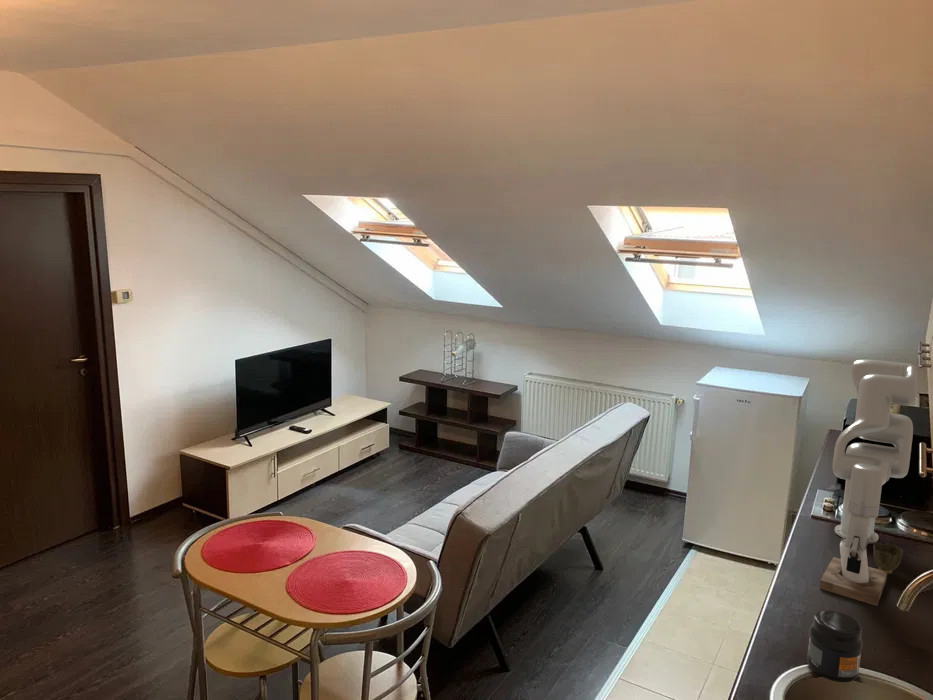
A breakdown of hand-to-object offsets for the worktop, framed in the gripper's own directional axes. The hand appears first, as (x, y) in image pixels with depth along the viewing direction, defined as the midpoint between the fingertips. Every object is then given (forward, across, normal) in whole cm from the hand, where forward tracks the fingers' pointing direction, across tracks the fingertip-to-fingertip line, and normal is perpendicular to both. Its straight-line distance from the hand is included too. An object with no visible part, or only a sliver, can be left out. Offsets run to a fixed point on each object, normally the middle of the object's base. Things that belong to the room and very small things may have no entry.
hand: (855, 565), depth 189 cm
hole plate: (+6, 0, 0) cm, 6 cm away
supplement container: (+6, +47, +3) cm, 47 cm away
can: (+5, 0, +1) cm, 5 cm away
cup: (+6, -14, +6) cm, 16 cm away
